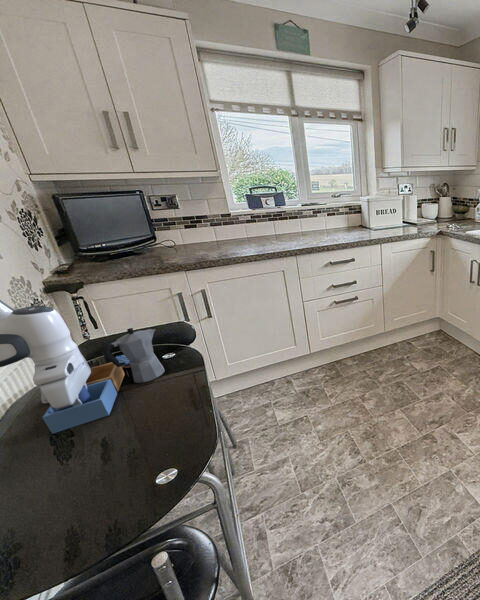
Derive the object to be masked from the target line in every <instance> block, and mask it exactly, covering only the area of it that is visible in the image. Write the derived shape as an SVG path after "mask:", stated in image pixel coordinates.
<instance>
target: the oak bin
mask: <svg viewBox="0 0 480 600" xmlns="http://www.w3.org/2000/svg"><path fill="white" fill-rule="evenodd" d="M90 369H91V374H90V375H89V377H88V379H87V380H86V385H87V386H88V385H91V384H95V383H98V382H102V381H105V380H108V379H110V380H111V382H112V384H113V386H114V388H115V390H116V392H117V393H118V392H119V391H120V388H121V386H122V383H123V380H124V377H125V375H126V374H125V371H124V368H122V367H117V366H116V365H115V364H113V363H112V362H111V361H110V362H108V363H104V364H101V365H97V366H94V367H93V366H92V367H90Z"/></svg>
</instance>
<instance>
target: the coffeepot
mask: <svg viewBox="0 0 480 600" xmlns="http://www.w3.org/2000/svg"><path fill="white" fill-rule="evenodd" d="M155 331H156V329H155V328H149V329H145V330H137V331H134V328H133V327H130V328H127V329H126V332H127V334H124V335H122V336H121V337H119V338H117V339H116V340H115V341H113V342H111V343H108V344H106V345H105V346H104V348H103V350H102V355H103V357H105V358H106V359H107V360H109V361H110V363H111V362H112V363H113V364H115V365H116V366H117V367H121V366H123V365H125V362H123V363H119V361H118V359H116V358H115V357H116V356H114V354H113V353H111V350H116V349H119V350H121V352H122V354H123V355H125V356H126V358H127V359H128V360H130V364H131V367H130V369H131V372H132V378H133V382H134V383H136V384H141V383H147V382H151V381H154V380H155V379H157V378H159V377H161V376H162V375H163V374H164V373H165V371H166V370H165V368H164V366H163V364H162V363H161V362H160V359H158V357H157V355H156V354H155V353H154V347H153V343H152V341H153V336H154V334H155Z"/></svg>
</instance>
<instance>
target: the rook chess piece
mask: <svg viewBox="0 0 480 600" xmlns="http://www.w3.org/2000/svg"><path fill="white" fill-rule="evenodd" d="M33 385H35V383H34V382H33ZM36 386H37V389H38V390H39V391H40V401H41V403H42V404H45V405H46V404H47V405H48V404H50V403H49V402H48V401H47V399H46V398H45V396H44V394H43V393H42V391H41V385H36Z"/></svg>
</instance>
